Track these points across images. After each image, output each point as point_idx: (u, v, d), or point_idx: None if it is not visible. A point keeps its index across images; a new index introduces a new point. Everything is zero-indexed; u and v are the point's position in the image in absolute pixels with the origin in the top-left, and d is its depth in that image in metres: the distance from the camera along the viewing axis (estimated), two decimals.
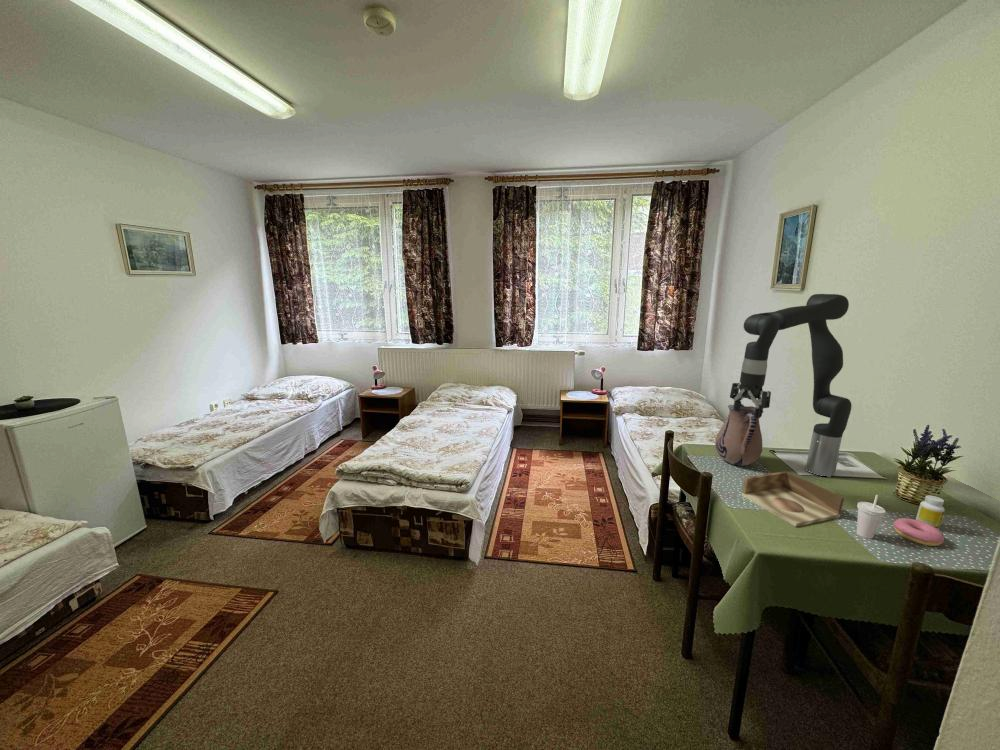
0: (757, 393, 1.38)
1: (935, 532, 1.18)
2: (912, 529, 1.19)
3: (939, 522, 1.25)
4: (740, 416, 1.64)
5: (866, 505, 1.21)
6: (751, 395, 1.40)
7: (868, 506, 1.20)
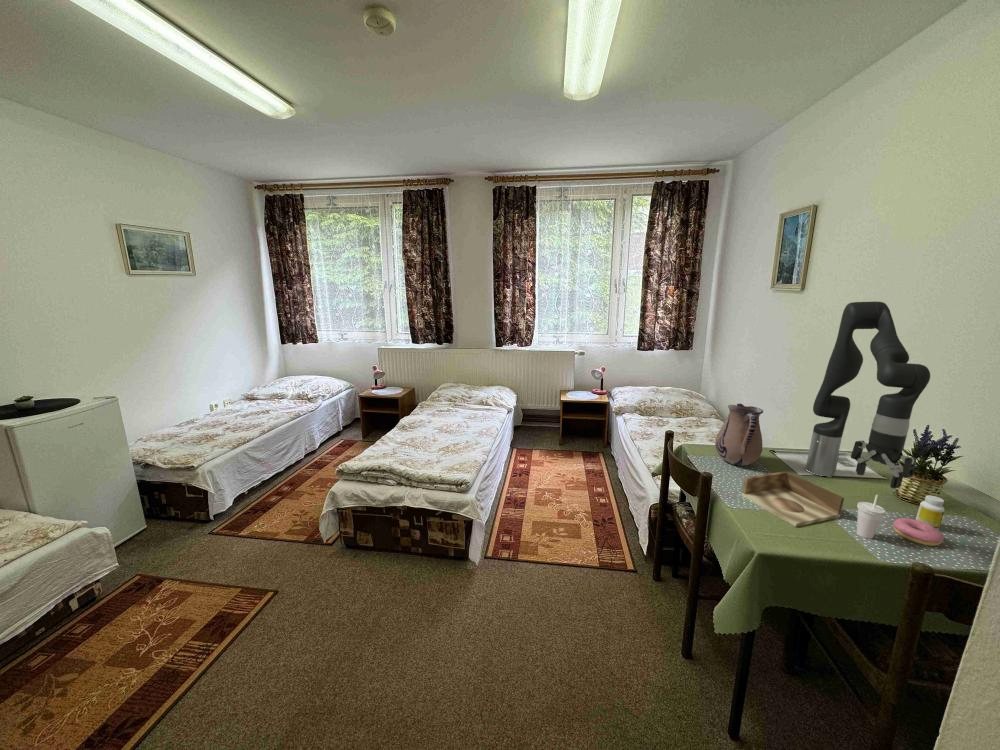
0: (896, 458, 1.13)
1: (935, 531, 1.18)
2: (911, 529, 1.19)
3: (939, 522, 1.25)
4: (740, 416, 1.64)
5: (866, 505, 1.21)
6: (887, 460, 1.14)
7: (868, 506, 1.20)
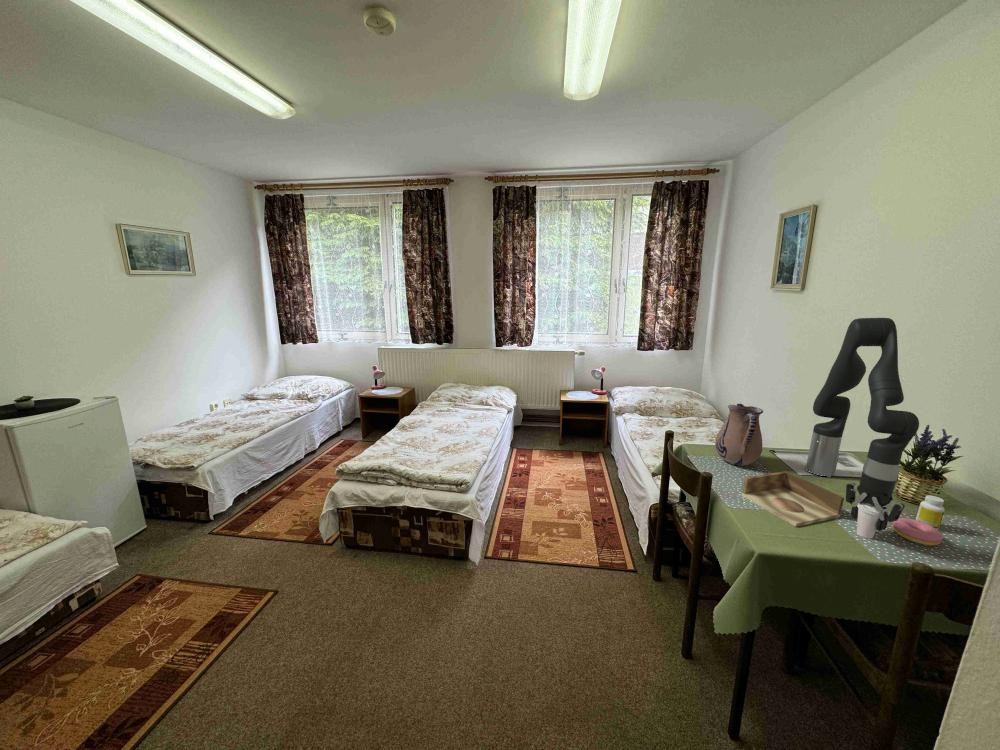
0: (885, 502, 1.16)
1: (934, 531, 1.18)
2: (911, 529, 1.19)
3: (939, 522, 1.25)
4: (740, 416, 1.64)
5: (866, 505, 1.21)
6: (876, 503, 1.17)
7: (868, 506, 1.20)
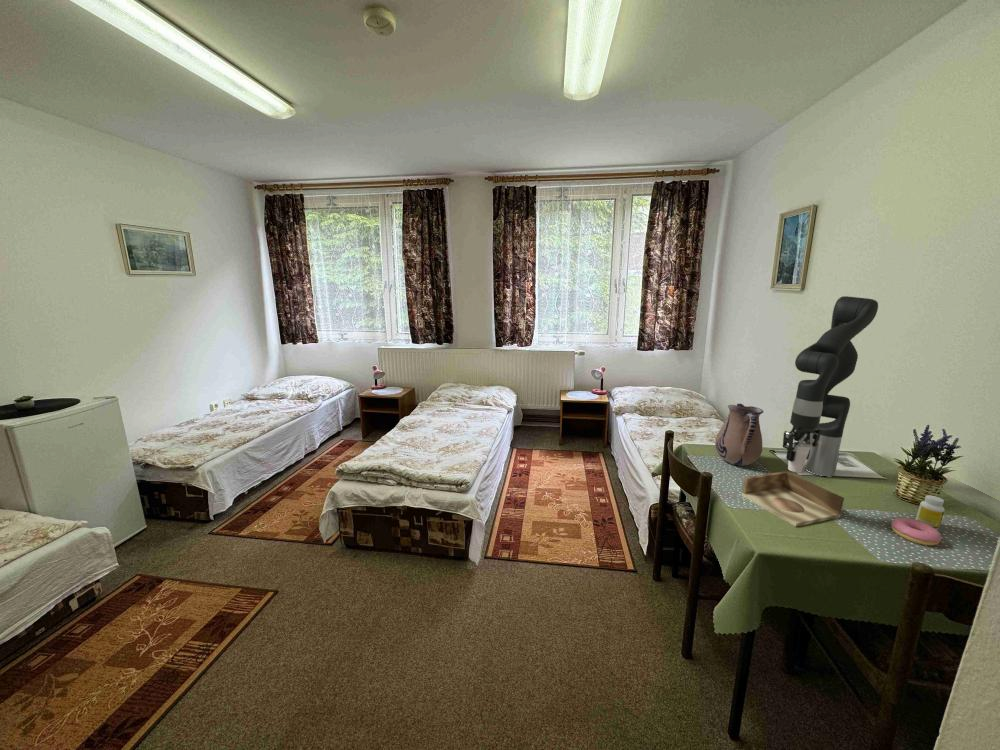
0: None
1: (933, 531, 1.18)
2: (910, 529, 1.20)
3: (939, 522, 1.25)
4: (740, 416, 1.64)
5: None
6: None
7: None
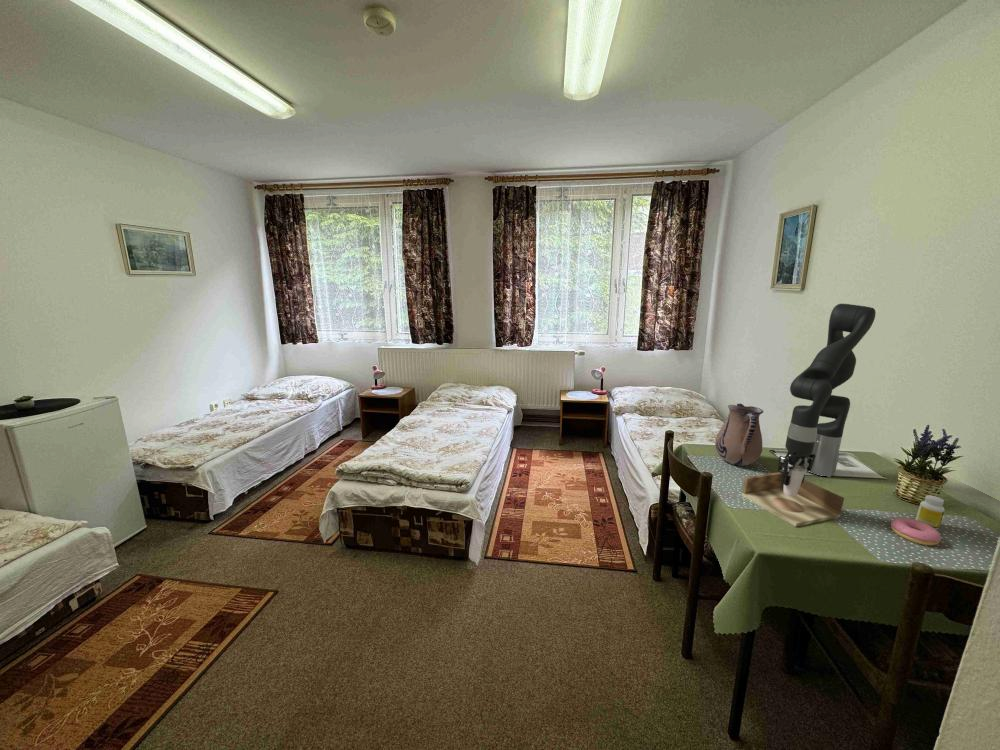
0: None
1: (932, 531, 1.18)
2: (909, 528, 1.20)
3: (939, 522, 1.25)
4: (740, 416, 1.64)
5: None
6: None
7: None
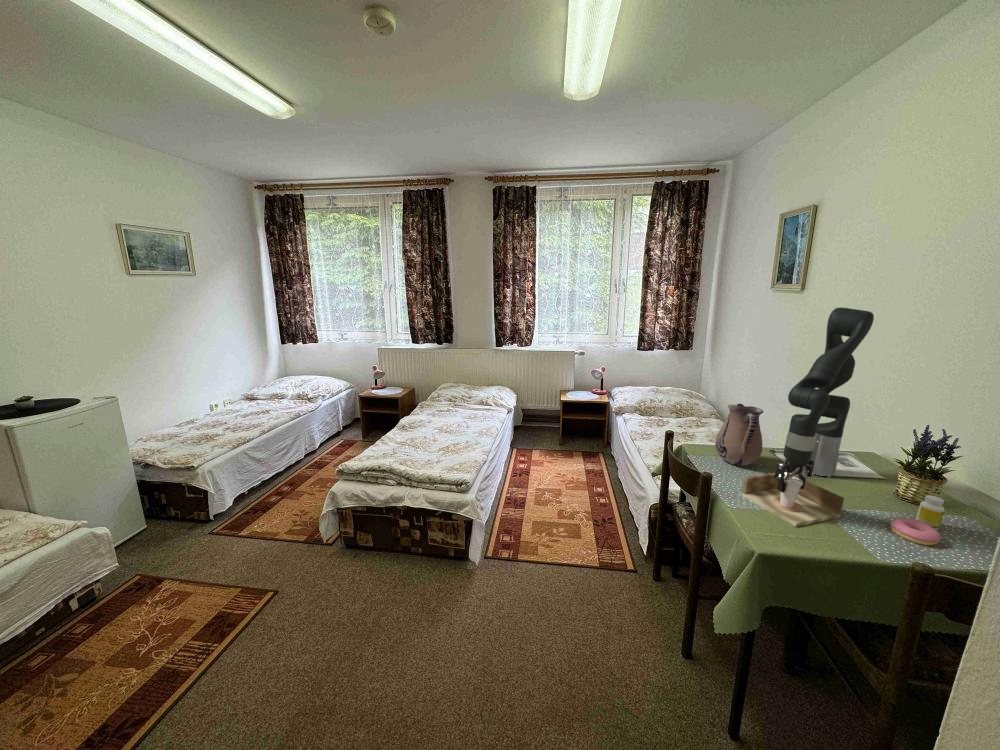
0: None
1: (932, 531, 1.18)
2: (909, 528, 1.20)
3: (939, 522, 1.25)
4: (740, 416, 1.64)
5: None
6: None
7: None
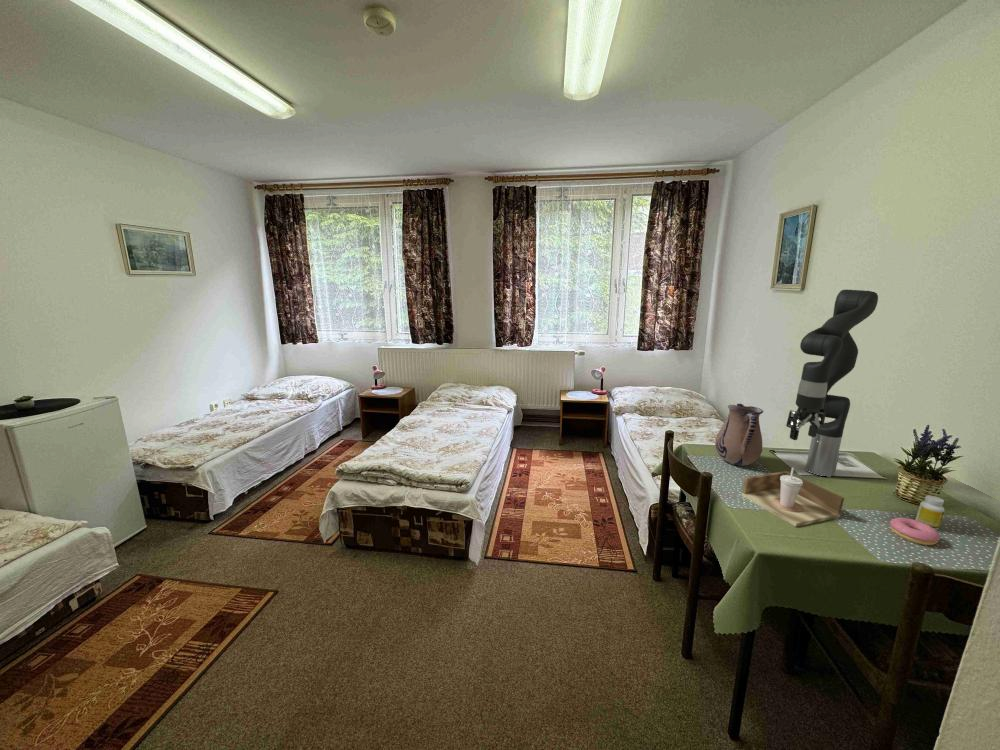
0: None
1: (931, 531, 1.18)
2: (908, 528, 1.20)
3: (939, 522, 1.25)
4: (740, 416, 1.64)
5: None
6: None
7: None
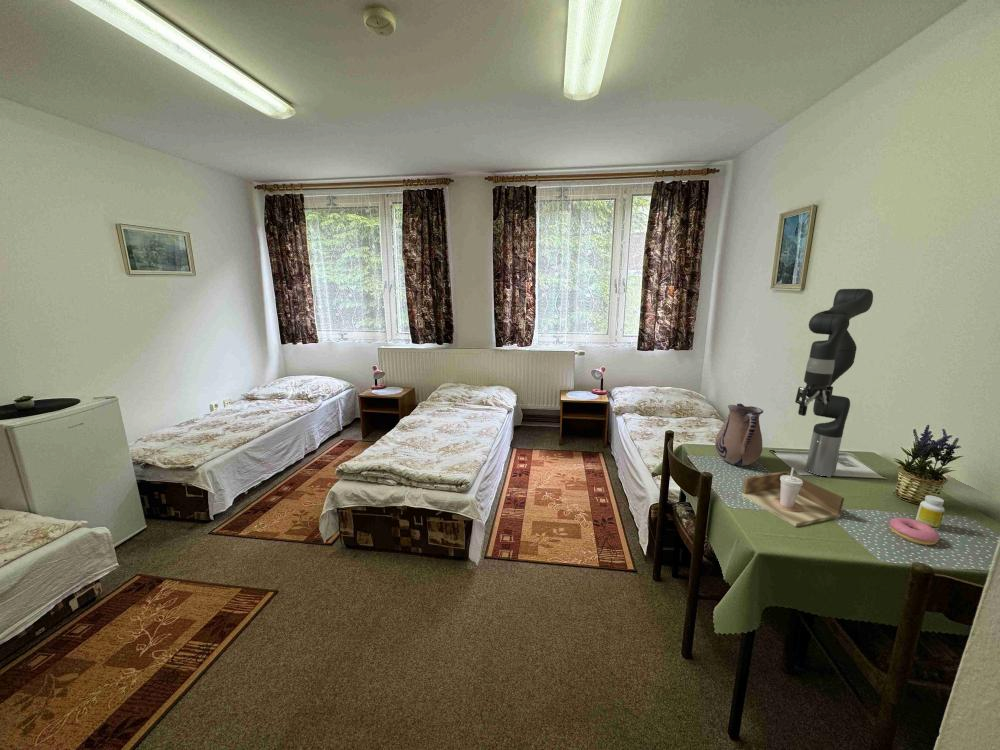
0: None
1: (931, 531, 1.18)
2: (908, 528, 1.20)
3: (939, 522, 1.25)
4: (740, 416, 1.64)
5: None
6: None
7: None
